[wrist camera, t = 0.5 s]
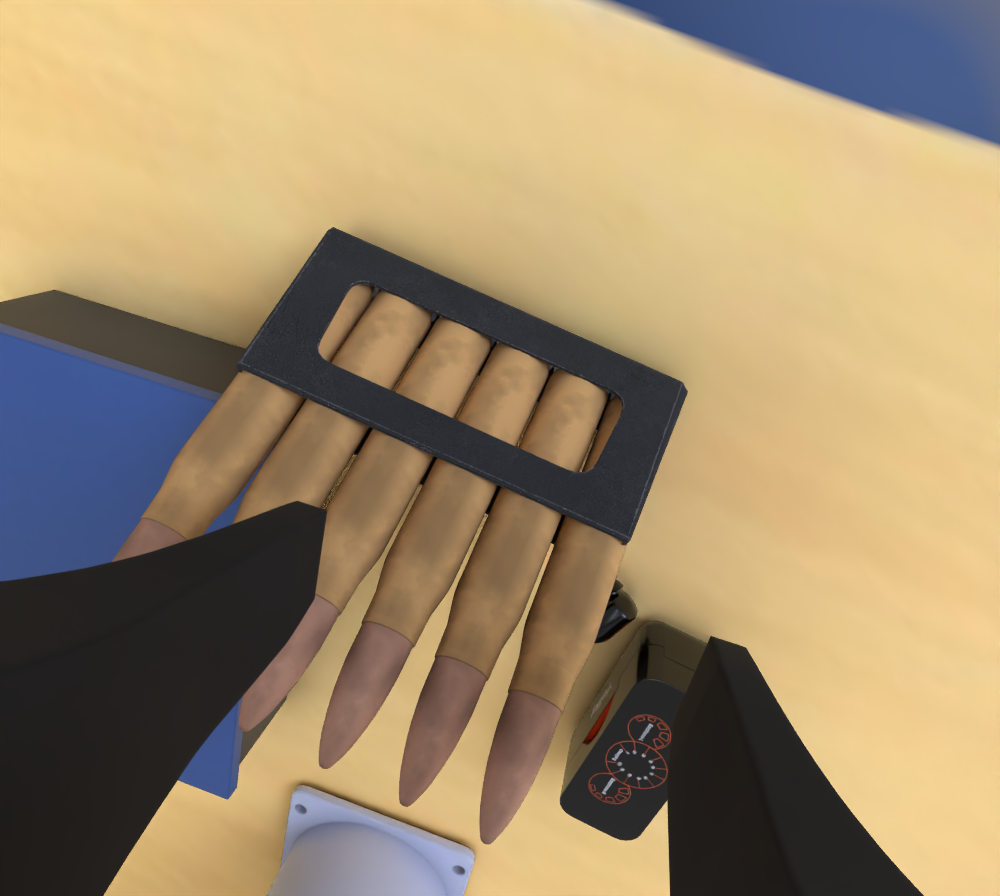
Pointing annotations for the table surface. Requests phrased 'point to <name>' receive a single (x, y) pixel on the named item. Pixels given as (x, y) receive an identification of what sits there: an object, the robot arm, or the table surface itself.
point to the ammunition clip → (430, 496)
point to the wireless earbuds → (629, 726)
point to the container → (103, 450)
